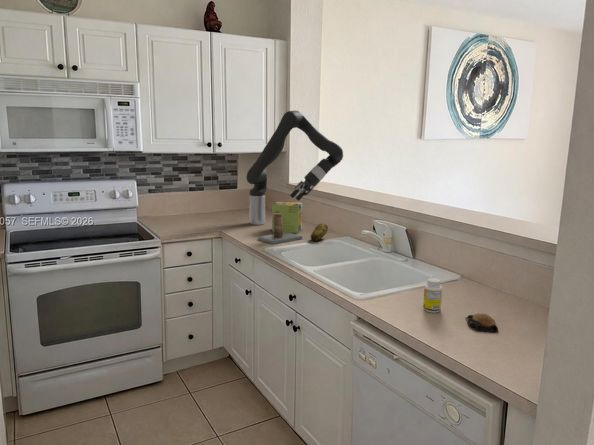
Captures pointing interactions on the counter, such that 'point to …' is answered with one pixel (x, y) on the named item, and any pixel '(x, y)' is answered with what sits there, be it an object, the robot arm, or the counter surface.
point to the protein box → (289, 216)
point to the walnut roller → (278, 225)
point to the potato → (319, 232)
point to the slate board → (285, 238)
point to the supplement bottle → (432, 295)
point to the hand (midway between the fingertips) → (294, 198)
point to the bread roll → (482, 323)
